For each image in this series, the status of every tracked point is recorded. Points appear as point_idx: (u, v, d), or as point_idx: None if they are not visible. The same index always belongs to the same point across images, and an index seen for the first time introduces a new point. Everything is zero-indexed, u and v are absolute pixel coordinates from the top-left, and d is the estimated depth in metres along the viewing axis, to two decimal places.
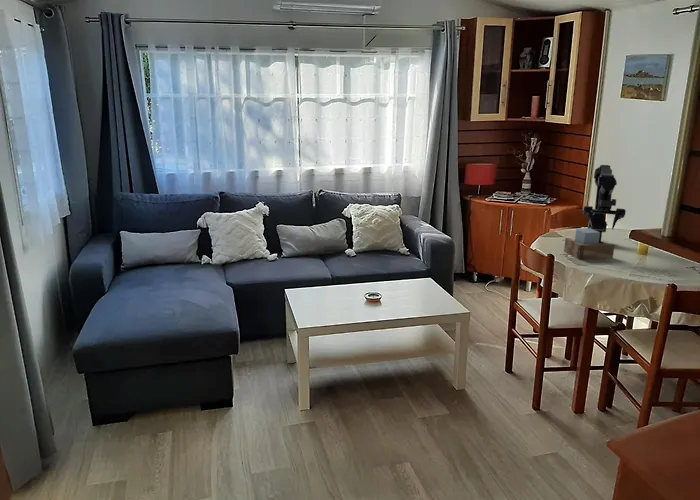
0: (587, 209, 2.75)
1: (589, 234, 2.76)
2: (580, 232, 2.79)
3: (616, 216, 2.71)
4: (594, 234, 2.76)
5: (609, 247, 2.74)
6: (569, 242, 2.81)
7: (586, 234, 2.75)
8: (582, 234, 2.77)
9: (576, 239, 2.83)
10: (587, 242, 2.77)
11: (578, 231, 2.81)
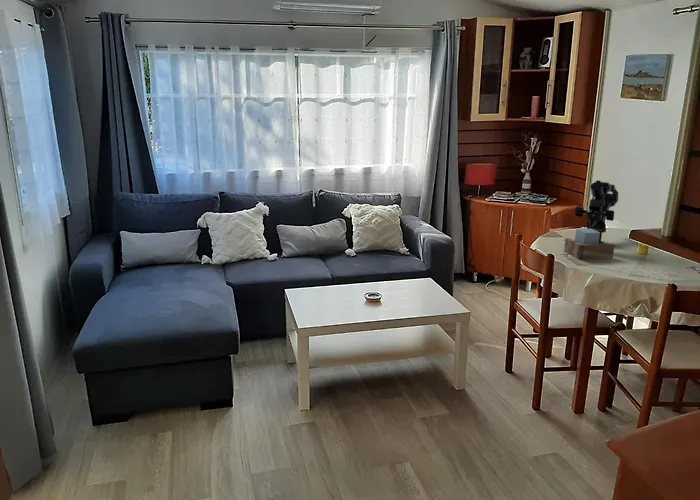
0: (578, 209, 2.91)
1: (589, 234, 2.76)
2: (580, 232, 2.79)
3: (595, 215, 2.87)
4: (594, 234, 2.76)
5: (609, 247, 2.74)
6: (569, 242, 2.81)
7: (586, 234, 2.75)
8: (582, 234, 2.77)
9: (576, 239, 2.83)
10: (587, 242, 2.77)
11: (578, 231, 2.81)
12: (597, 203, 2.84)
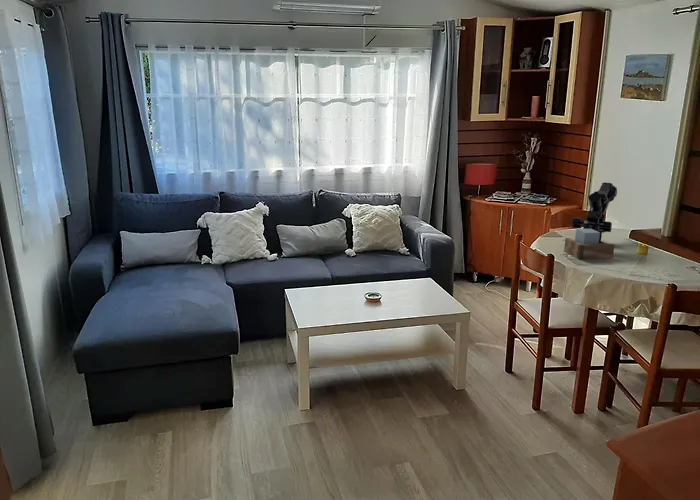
0: (575, 220, 2.90)
1: (589, 234, 2.75)
2: (580, 232, 2.79)
3: (593, 226, 2.85)
4: (594, 234, 2.76)
5: (609, 247, 2.74)
6: (569, 242, 2.81)
7: (586, 234, 2.75)
8: (582, 234, 2.77)
9: (576, 239, 2.82)
10: (587, 242, 2.76)
11: (578, 231, 2.80)
12: (594, 214, 2.82)
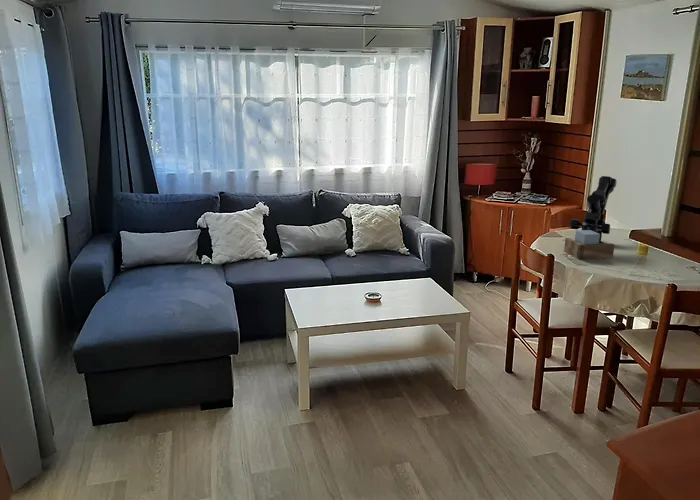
0: (573, 221, 2.86)
1: (589, 236, 2.72)
2: (580, 234, 2.76)
3: (590, 228, 2.82)
4: (594, 236, 2.73)
5: (609, 247, 2.74)
6: (569, 242, 2.81)
7: (586, 236, 2.72)
8: (582, 236, 2.74)
9: (576, 241, 2.79)
10: None
11: (578, 233, 2.77)
12: (593, 216, 2.79)
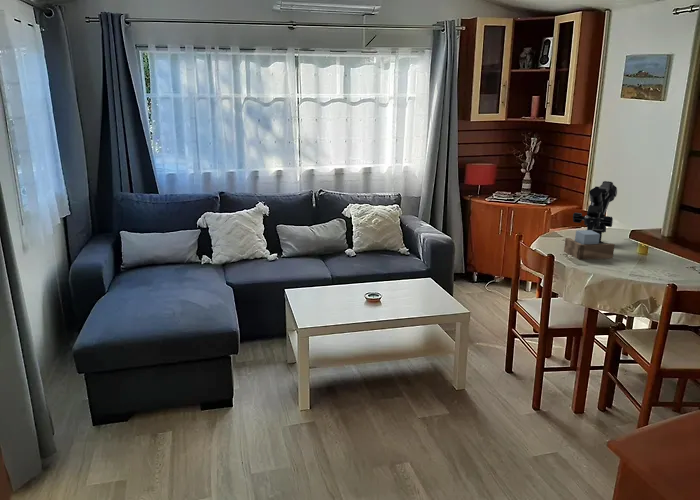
0: (576, 215, 2.89)
1: (589, 236, 2.72)
2: (580, 234, 2.76)
3: (593, 221, 2.85)
4: (594, 236, 2.73)
5: (609, 247, 2.74)
6: (569, 242, 2.81)
7: (586, 236, 2.72)
8: (582, 236, 2.74)
9: (576, 241, 2.80)
10: None
11: (578, 233, 2.78)
12: (595, 209, 2.82)
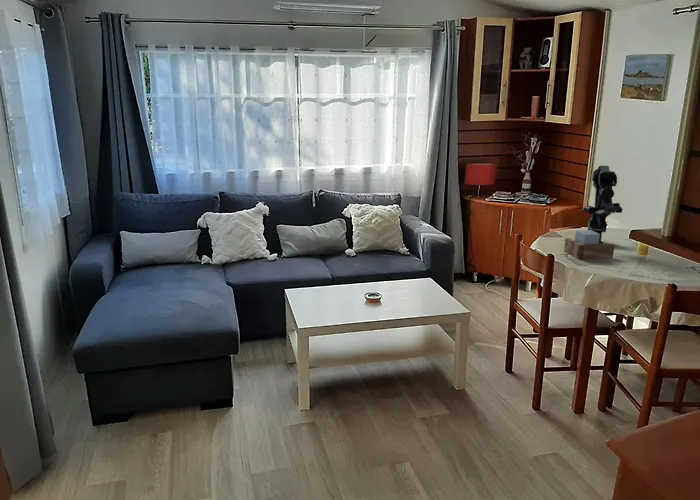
0: (592, 212, 2.83)
1: (589, 236, 2.72)
2: (580, 234, 2.76)
3: (606, 215, 2.86)
4: (594, 236, 2.73)
5: (609, 247, 2.74)
6: (569, 242, 2.81)
7: (586, 236, 2.72)
8: (582, 236, 2.74)
9: (576, 241, 2.80)
10: None
11: (578, 233, 2.78)
12: (614, 211, 2.80)
